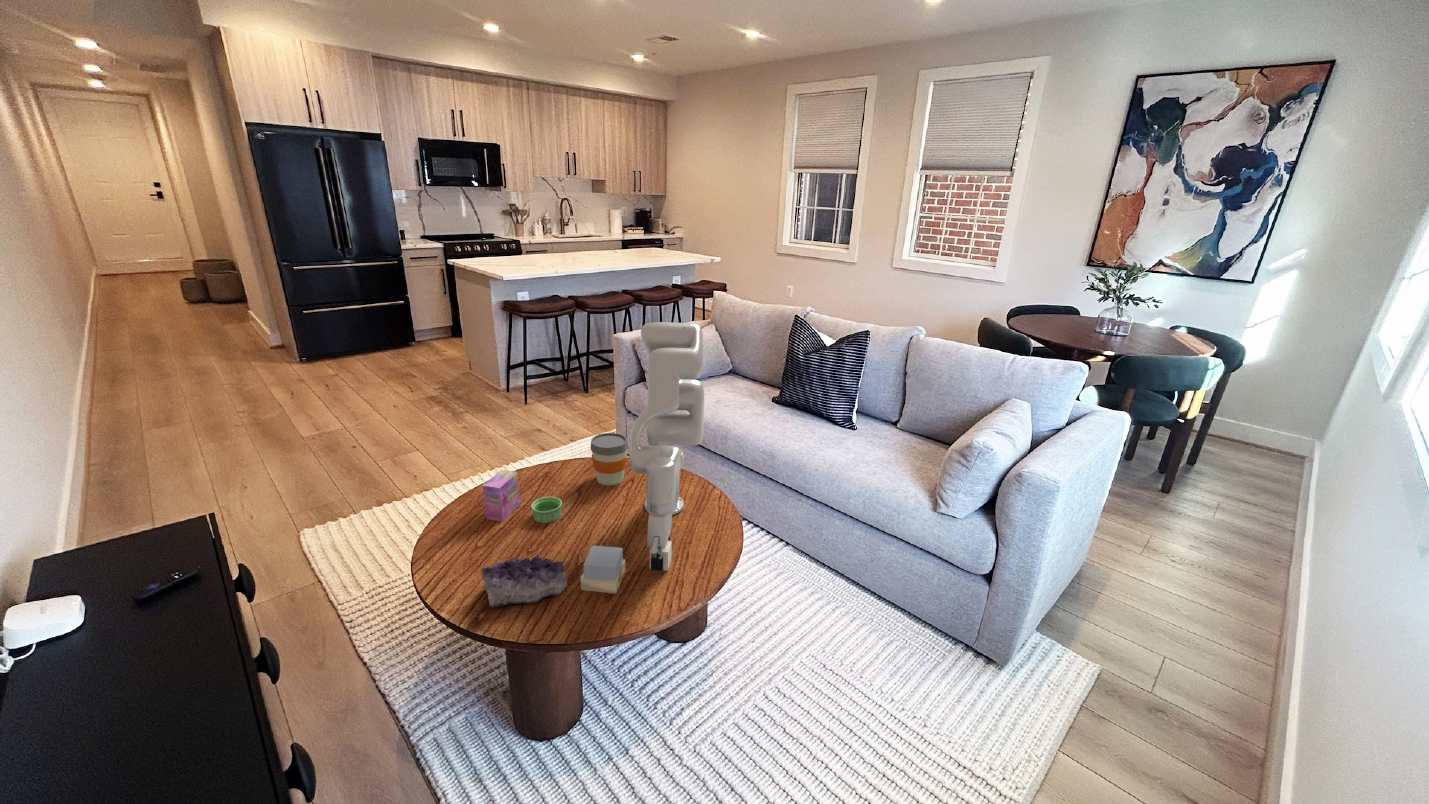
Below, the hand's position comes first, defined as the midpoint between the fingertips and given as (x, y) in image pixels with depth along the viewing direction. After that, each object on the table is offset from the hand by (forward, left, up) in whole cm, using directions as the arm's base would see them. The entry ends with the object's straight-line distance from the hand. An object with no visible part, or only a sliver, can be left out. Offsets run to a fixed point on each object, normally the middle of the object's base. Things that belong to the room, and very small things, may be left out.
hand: (660, 558), depth 149 cm
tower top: (+9, -13, +2) cm, 16 cm away
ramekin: (-17, -39, -2) cm, 43 cm away
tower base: (+9, -13, -2) cm, 16 cm away
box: (-17, -53, -2) cm, 56 cm away
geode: (+16, -31, -2) cm, 35 cm away
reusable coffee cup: (-43, -27, -2) cm, 51 cm away
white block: (0, 0, -2) cm, 2 cm away
